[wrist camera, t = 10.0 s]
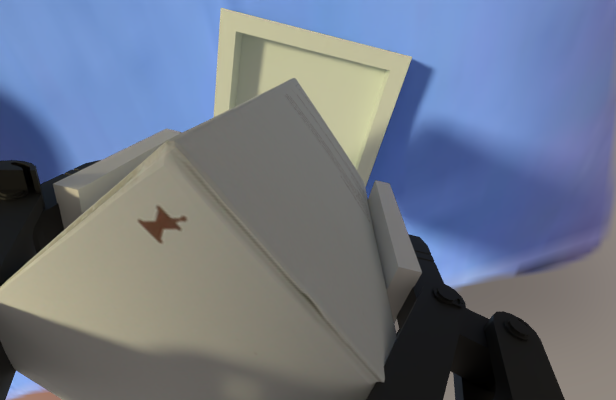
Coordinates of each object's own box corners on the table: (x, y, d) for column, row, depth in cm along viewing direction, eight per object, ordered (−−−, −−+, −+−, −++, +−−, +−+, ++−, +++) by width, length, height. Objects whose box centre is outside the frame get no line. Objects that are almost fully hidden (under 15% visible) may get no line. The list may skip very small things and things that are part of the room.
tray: (218, 172, 29) (209, 182, 27) (231, 11, 23) (220, 7, 21) (353, 205, 30) (354, 217, 28) (405, 55, 23) (412, 56, 21)
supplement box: (195, 150, 17) (-75, 326, 6) (296, 73, 15) (167, 125, 4) (270, 240, 20) (178, 489, 8) (368, 185, 17) (426, 430, 6)
